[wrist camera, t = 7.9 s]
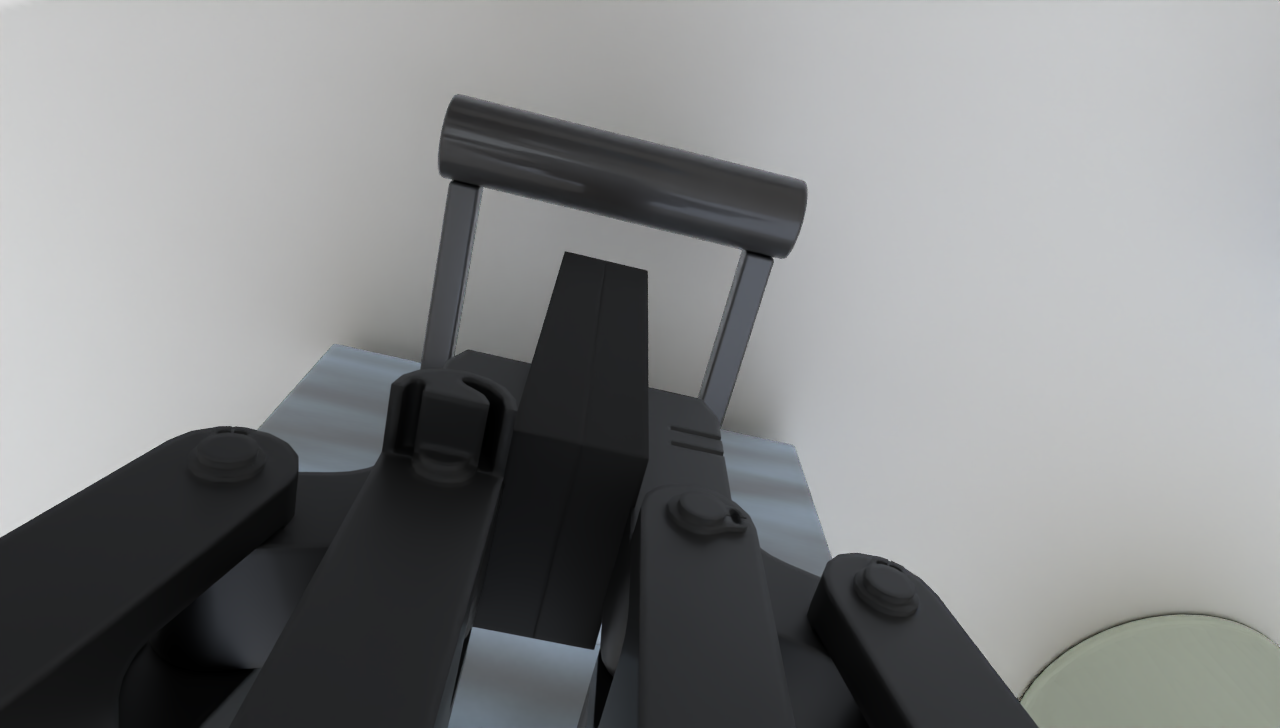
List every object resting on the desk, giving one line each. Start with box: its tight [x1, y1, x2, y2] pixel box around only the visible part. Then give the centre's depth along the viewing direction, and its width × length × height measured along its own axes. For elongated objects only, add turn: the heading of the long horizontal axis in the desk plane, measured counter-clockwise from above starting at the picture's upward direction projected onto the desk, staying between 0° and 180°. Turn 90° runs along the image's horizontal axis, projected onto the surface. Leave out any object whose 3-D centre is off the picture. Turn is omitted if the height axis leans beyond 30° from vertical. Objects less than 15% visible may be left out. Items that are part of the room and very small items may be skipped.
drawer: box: [258, 94, 832, 728], centre depth 20 cm, size 22×12×8 cm, turn 166°
